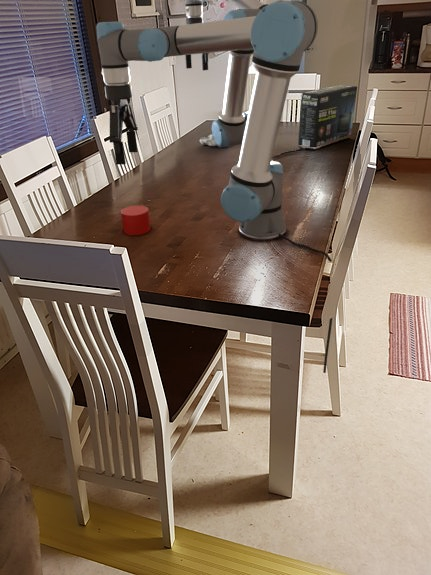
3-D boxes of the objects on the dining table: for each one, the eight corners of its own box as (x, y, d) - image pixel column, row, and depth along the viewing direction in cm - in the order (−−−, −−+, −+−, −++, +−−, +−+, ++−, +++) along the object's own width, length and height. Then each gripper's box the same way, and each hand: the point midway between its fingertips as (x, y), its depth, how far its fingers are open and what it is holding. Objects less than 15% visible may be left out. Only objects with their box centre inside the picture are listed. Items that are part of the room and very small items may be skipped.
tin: (118, 231, 154) (115, 212, 151) (136, 222, 160) (134, 203, 157) (137, 237, 150) (134, 217, 146) (155, 228, 156) (153, 208, 152)
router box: (314, 151, 231) (318, 94, 217) (296, 148, 237) (299, 92, 224) (352, 138, 251) (358, 85, 238) (335, 135, 258) (340, 83, 245)
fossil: (223, 141, 238) (204, 123, 241) (212, 159, 245) (194, 141, 248) (240, 140, 252) (222, 123, 255) (230, 156, 258) (212, 139, 262)
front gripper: (117, 78, 142) (127, 147, 153) (89, 90, 121) (102, 169, 132) (141, 77, 142) (148, 147, 153) (117, 90, 120) (127, 169, 131)
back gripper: (172, 17, 213) (176, 68, 224) (203, 17, 195) (206, 71, 206) (185, 17, 217) (188, 66, 227) (217, 16, 199) (219, 70, 210)
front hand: (127, 157), depth 142 cm, fingers open, 13 cm apart
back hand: (197, 69), depth 217 cm, fingers open, 13 cm apart
